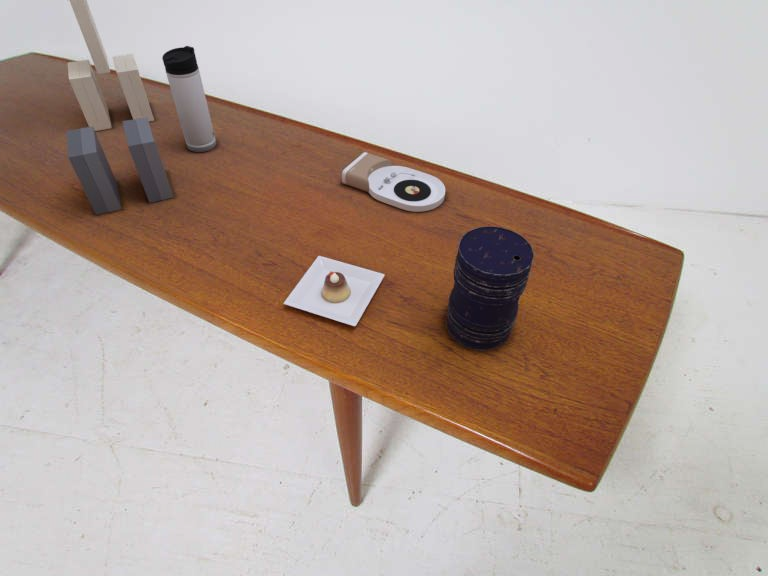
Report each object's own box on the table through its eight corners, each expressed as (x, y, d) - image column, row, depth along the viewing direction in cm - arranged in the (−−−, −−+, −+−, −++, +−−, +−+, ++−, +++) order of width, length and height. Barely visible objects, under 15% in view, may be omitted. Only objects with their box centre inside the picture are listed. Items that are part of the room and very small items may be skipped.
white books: (91, 131, 114) (68, 79, 105) (88, 113, 120) (67, 62, 111) (154, 120, 118) (137, 69, 110) (148, 103, 124) (132, 53, 116)
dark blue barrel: (433, 331, 74) (443, 255, 63) (463, 292, 80) (478, 217, 69) (494, 362, 70) (517, 286, 59) (521, 319, 76) (546, 243, 65)
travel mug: (223, 142, 111) (202, 49, 97) (202, 155, 107) (176, 60, 93) (203, 135, 114) (179, 42, 99) (181, 147, 110) (153, 53, 95)
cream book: (97, 74, 107) (58, -28, 93) (95, 57, 113) (57, -40, 100) (110, 72, 108) (73, -29, 94) (106, 56, 114) (71, -41, 100)
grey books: (96, 215, 92) (68, 157, 83) (92, 187, 98) (66, 130, 90) (173, 197, 96) (154, 141, 88) (165, 172, 103) (147, 116, 94)
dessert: (319, 260, 84) (317, 238, 81) (385, 279, 81) (385, 257, 78) (283, 308, 76) (279, 286, 73) (355, 331, 73) (354, 309, 70)
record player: (368, 148, 105) (455, 176, 98) (368, 161, 107) (453, 189, 100) (338, 174, 98) (430, 206, 91) (338, 187, 100) (428, 219, 93)
